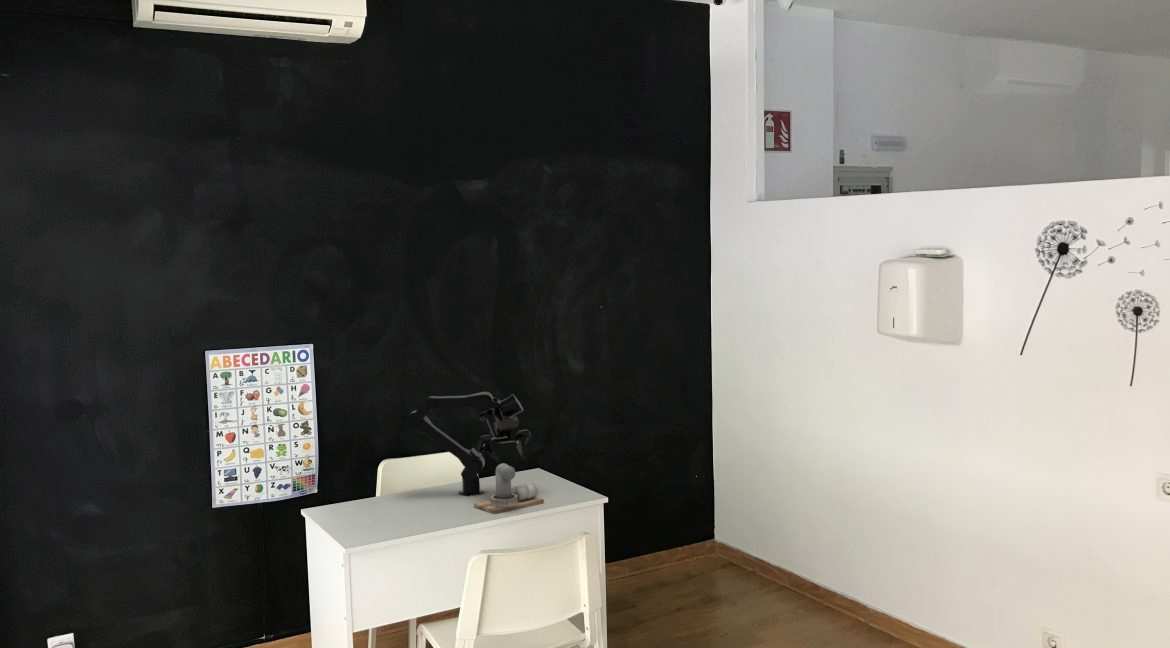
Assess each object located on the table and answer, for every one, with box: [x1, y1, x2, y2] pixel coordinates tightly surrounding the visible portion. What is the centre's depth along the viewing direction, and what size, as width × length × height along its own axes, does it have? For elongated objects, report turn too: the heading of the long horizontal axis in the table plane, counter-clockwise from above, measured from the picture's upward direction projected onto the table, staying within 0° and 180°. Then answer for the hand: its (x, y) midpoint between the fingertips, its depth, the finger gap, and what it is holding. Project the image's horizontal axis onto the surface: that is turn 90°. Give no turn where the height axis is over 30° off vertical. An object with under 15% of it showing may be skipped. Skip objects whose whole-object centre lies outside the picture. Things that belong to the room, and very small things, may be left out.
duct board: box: [473, 482, 545, 515], centre depth 302 cm, size 12×20×6 cm, turn 130°
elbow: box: [495, 463, 516, 499], centre depth 298 cm, size 7×5×14 cm
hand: (512, 460), depth 308 cm, fingers open, 9 cm apart
